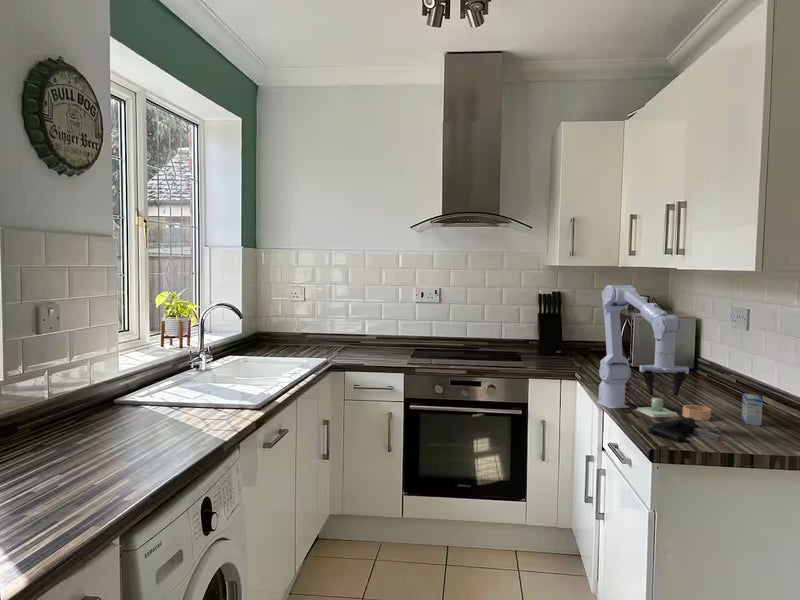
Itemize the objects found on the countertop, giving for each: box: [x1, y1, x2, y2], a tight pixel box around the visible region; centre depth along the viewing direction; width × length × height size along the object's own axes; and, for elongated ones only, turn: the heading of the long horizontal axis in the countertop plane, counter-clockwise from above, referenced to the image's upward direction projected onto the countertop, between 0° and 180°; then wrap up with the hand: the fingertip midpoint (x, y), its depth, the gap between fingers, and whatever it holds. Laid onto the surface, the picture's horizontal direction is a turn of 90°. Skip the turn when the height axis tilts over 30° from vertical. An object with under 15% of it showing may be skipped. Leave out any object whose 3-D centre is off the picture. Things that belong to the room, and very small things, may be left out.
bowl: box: [681, 404, 712, 421], centre depth 193 cm, size 8×8×4 cm
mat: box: [634, 408, 680, 418], centre depth 198 cm, size 10×10×1 cm
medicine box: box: [741, 393, 763, 426], centre depth 189 cm, size 8×4×9 cm, turn 159°
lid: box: [636, 397, 679, 418], centre depth 198 cm, size 9×9×5 cm
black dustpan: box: [647, 417, 722, 443], centre depth 174 cm, size 3×20×16 cm
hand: (662, 394), depth 184 cm, fingers open, 7 cm apart
